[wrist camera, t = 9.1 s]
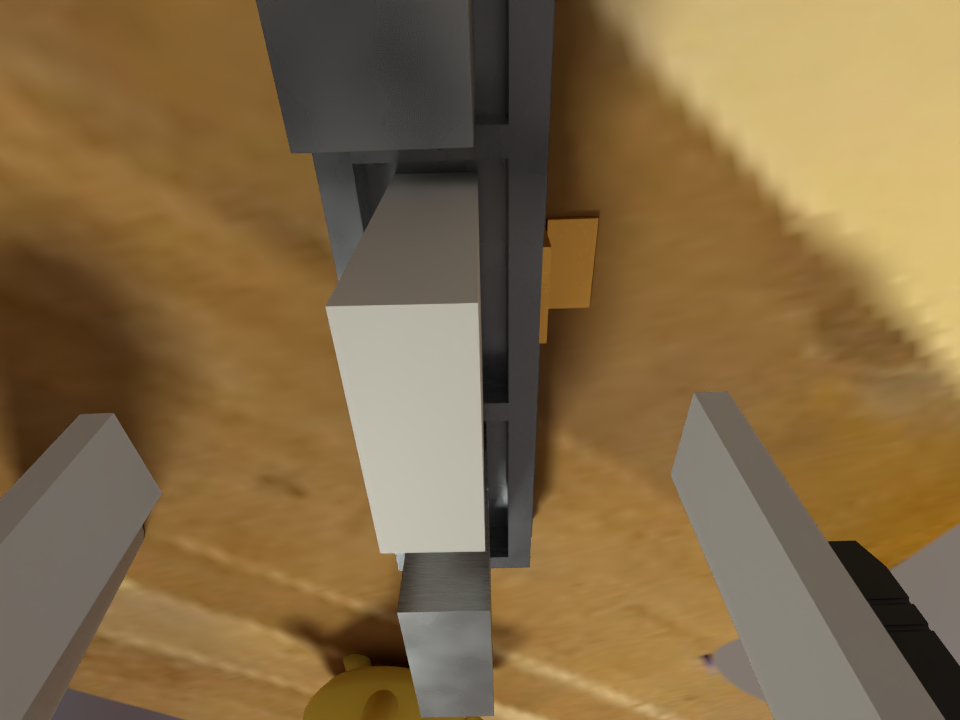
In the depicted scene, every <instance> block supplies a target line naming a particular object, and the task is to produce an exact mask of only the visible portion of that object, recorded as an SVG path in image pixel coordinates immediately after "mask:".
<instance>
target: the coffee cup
mask: <svg viewBox="0 0 960 720" xmlns="http://www.w3.org/2000/svg"><path fill="white" fill-rule="evenodd" d="M143 540H144V530H143V527H141V528H140V530H139V531H138V533H137V535H136V536H135V538H134V539H133V541H132V543H131V544H130V546H129V547H128V549H127V551H126V552H125V554H124V555H123V557H122V559H121V560H120V562H119V564H118V565H117V567H116V568H115V570H114V572H113V573H112V575H111V576H110V578H109V580H108V581H107V583H106V584H105V586H104V588H103V589H102V591H101V592H100V594H99V596H98V597H97V599H96V600H95V602H94V604H93V605H92V607H91V609H90V610H89V612H88V613H87V615H86V617H85V618H84V620H83V621H82V623H81V625H80V626H79V628H78V629H77V631H76V633H75V634H74V636H73V637H72V639H71V641H70V642H69V644H68V646H67V647H66V649H65V650H64V652H63V654H62V655H61V657H60V658H59V660H58V662H57V663H56V665H55V666H54V668H53V670H52V671H51V673H50V674H49V676H48V678H47V679H46V681H45V682H44V684H43V686H42V687H41V689H40V691H39V692H38V694H37V695H36V697H35V699H34V700H33V702H32V703H31V705H30V707H29V708H28V710H27V711H26V713H25V715H24V716H23V718H22V719H21V720H51V718H52V716H53V714H54V712H55V710H56V708H57V707H58V704H59V703H60V700H61V699H62V697H63V695H64V693H65V691H66V689H67V687H68V685H69V683H70V681H71V679H72V677H73V675H74V674H75V672H76V670H77V668H78V666H79V664H80V662H81V660H82V658H83V656H84V654H85V652H86V650H87V648H88V646H89V645H90V643H91V641H92V639H93V637H94V635H95V633H96V631H97V629H98V627H99V625H100V623H101V621H102V619H103V617H104V616H105V614H106V612H107V610H108V608H109V606H110V604H111V602H112V600H113V598H114V596H115V594H116V592H117V590H118V589H119V587H120V585H121V583H122V581H123V579H124V577H125V575H126V573H127V571H128V569H129V567H130V565H131V564H132V562H133V560H134V558H135V556H136V554H137V552H138V550H139V548H140V546H141V544H142V542H143Z"/></svg>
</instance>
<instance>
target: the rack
mask: <svg viewBox="0 0 960 720" xmlns="http://www.w3.org/2000/svg"><path fill="white" fill-rule="evenodd" d="M256 3H257V8H258V12H259V16H260V21H261V25H262V29H263V34H264V38H265V42H266V47H267V51H268V55H269V60H270V64H271V68H272V73H273V77H274V81H275V86H276V90H277V94H278V99H279V103H280V107H281V112H282V116H283V120H284V125H285V129H286V133H287V138H288V142H289V146H290V151H291V153H312V156H313V161H314V166H315V170H316V175H317V180H318V185H319V190H320V194H321V199H322V204H323V209H324V213H325V218H326V223H327V228H328V233H329V237H330V242H331V247H332V252H333V257H334V261H335V266H336V271H337V276H338V281H339V280H340V278H341V276H342V274H343V272H344V270H345V268H346V266H347V264H348V262H349V260H350V258H351V257H352V255H353V253H354V251H355V249H356V247H357V245H358V243H359V241H360V239H361V237H362V235H363V233H364V232H365V230H366V228H367V226H368V224H369V222H370V220H371V218H372V216H373V214H374V212H375V210H376V209H377V207H378V205H379V203H380V201H381V199H382V197H383V195H384V193H385V191H386V189H387V187H388V185H389V184H390V182H391V180H392V178H393V176H394V174H414V173H453V172H478V207H479V247H480V287H481V327H482V375H483V442H484V508H485V551H483V552H428V553H395V554H396V559H397V564H398V568H399V570H403V573H402V580H401V587H400V595H399V602H398V610H397V614H398V619H399V623H400V627H401V632H402V636H403V640H404V645H405V649H406V653H407V658H408V662H409V666H410V671H411V675H412V679H413V684H414V688H415V692H416V697H417V701H418V705H419V710H420V714H421V717H469V716H494V693H493V652H492V610H491V569H490V568H522V567H530V546H531V537H532V520H533V497H534V474H535V451H536V428H537V405H538V382H539V359H540V343H547V325H548V309H560V308H589V306H590V296H591V286H592V277H593V267H594V258H595V248H596V238H597V229H598V219H599V218H598V217H574V218H547V231H546V228H545V220H546V197H547V174H548V151H549V128H550V105H551V82H552V59H553V36H554V13H555V0H256Z"/></svg>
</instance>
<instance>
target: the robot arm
mask: <svg viewBox="0 0 960 720" xmlns="http://www.w3.org/2000/svg"><path fill="white" fill-rule="evenodd" d="M671 478H672V480H673V482H674V485H675V487H676V489H677V492H678V494H679V496H680V499H681V501H682V503H683V506H684V508H685V510H686V513H687V515H688V518H689V520H690V522H691V525H692V527H693V529H694V532H695V534H696V536H697V539H698V541H699V543H700V546H701V548H702V551H703V553H704V555H705V558H706V560H707V562H708V565H709V567H710V569H711V572H712V574H713V576H714V579H715V581H716V584H717V586H718V588H719V591H720V593H721V595H722V598H723V600H724V602H725V605H726V607H727V609H728V612H729V614H730V616H731V619H732V621H733V624H734V626H735V628H736V631H737V633H738V635H739V638H740V640H741V642H742V645H743V647H744V649H745V652H746V654H747V657H748V659H749V661H750V664H751V666H752V668H753V671H754V673H755V675H756V678H757V680H758V682H759V685H760V687H761V690H762V692H763V694H764V696H765V699H766V701H767V704H768V706H769V708H770V711H771V713H772V715H773V718H774V720H960V666H959V665H958V663H957V662H956V661H955V659H954V658H953V656H952V655H951V654H950V652H949V651H948V650H947V648H946V647H945V646H944V645H943V643H942V642H941V641H940V639H939V638H938V636H937V635H936V633H935V632H934V631H931V630H930V629H929V627H928V623H927V621H926V620H925V618H924V617H923V616H922V614H921V613H920V612H919V610H918V609H917V608H916V606H915V605H914V604H911V603H910V602H909V597H908V595H907V594H906V593H905V591H904V590H903V589H902V587H901V586H900V585H899V583H898V582H897V580H896V579H895V578H894V576H893V575H892V574H891V572H890V571H889V570H888V568H887V567H886V566H885V565H884V564H883V563H881V562H880V561H879V560H878V559H877V558H875V557H874V556H873V555H872V554H871V553H869V552H868V551H867V550H866V549H865V548H864V547H862V546H861V545H860V544H859V543H858V542H856V541H829V542H827V540H826V539H825V537H824V536H823V534H822V533H821V531H820V530H819V528H818V527H817V525H816V524H815V522H814V521H813V519H812V518H811V516H810V515H809V513H808V512H807V510H806V509H805V507H804V506H803V504H802V502H801V501H800V499H799V498H798V496H797V495H796V493H795V492H794V490H793V489H792V487H791V486H790V484H789V483H788V481H787V480H786V478H785V477H784V475H783V474H782V472H781V471H780V469H779V468H778V466H777V465H776V463H775V462H774V460H773V459H772V457H771V456H770V454H769V453H768V451H767V450H766V448H765V447H764V445H763V444H762V442H761V441H760V439H759V438H758V436H757V435H756V433H755V432H754V430H753V428H752V427H751V425H750V424H749V422H748V421H747V419H746V418H745V416H744V415H743V413H742V412H741V410H740V409H739V407H738V406H737V404H736V403H735V401H734V400H733V398H732V397H731V395H730V394H729V392H728V391H721V392H694V394H693V397H692V401H691V404H690V408H689V412H688V415H687V419H686V422H685V426H684V429H683V433H682V437H681V440H680V444H679V447H678V451H677V454H676V458H675V462H674V465H673V469H672V472H671ZM161 494H162V492H161V490H160V488H159V487H158V485H157V484H156V482H155V480H154V479H153V477H152V475H151V474H150V472H149V470H148V469H147V467H146V465H145V464H144V462H143V460H142V459H141V457H140V456H139V454H138V452H137V451H136V449H135V447H134V446H133V444H132V442H131V441H130V439H129V437H128V436H127V434H126V432H125V431H124V429H123V428H122V426H121V424H120V423H119V421H118V419H117V418H116V416H115V414H114V413H99V414H80V415H79V416H78V417H77V418H76V419H75V420H74V421H73V422H72V423H71V424H70V425H69V426H68V427H67V429H66V430H65V431H64V432H63V433H62V434H61V435H60V436H59V437H58V438H57V439H56V440H55V441H54V442H53V443H52V444H51V446H50V447H49V448H48V449H47V450H46V451H45V452H44V453H43V454H42V455H41V456H40V457H39V458H38V459H37V460H36V461H35V463H34V464H33V465H32V466H31V467H30V468H29V469H28V470H27V471H26V472H25V473H24V474H23V475H22V476H21V477H20V479H19V480H18V481H17V482H16V483H15V484H14V485H13V486H12V487H11V488H10V489H9V490H8V491H7V492H6V493H5V494H4V496H3V497H2V498H1V499H0V720H21V719H22V718H23V716H24V715H25V713H26V711H27V710H28V708H29V707H30V705H31V703H32V702H33V700H34V699H35V697H36V695H37V694H38V692H39V691H40V689H41V687H42V686H43V684H44V682H45V681H46V679H47V678H48V676H49V674H50V673H51V671H52V670H53V668H54V666H55V665H56V663H57V662H58V660H59V658H60V657H61V655H62V654H63V652H64V650H65V649H66V647H67V646H68V644H69V642H70V641H71V639H72V637H73V636H74V634H75V633H76V631H77V629H78V628H79V626H80V625H81V623H82V621H83V620H84V618H85V617H86V615H87V613H88V612H89V610H90V609H91V607H92V605H93V604H94V602H95V600H96V599H97V597H98V596H99V594H100V592H101V591H102V589H103V588H104V586H105V584H106V583H107V581H108V580H109V578H110V576H111V575H112V573H113V572H114V570H115V568H116V567H117V565H118V564H119V562H120V560H121V559H122V557H123V555H124V554H125V552H126V551H127V549H128V547H129V546H130V544H131V543H132V541H133V539H134V538H135V536H136V535H137V533H138V531H139V530H140V528H141V527H142V525H143V523H144V522H145V520H146V519H147V517H148V515H149V514H150V512H151V510H152V509H153V507H154V506H155V504H156V502H157V501H158V499H159V498H160V496H161Z"/></svg>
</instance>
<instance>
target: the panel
mask: <svg viewBox="0 0 960 720" xmlns="http://www.w3.org/2000/svg"><path fill="white" fill-rule="evenodd" d="M325 307H326V311H327V316H328V320H329V325H330V329H331V334H332V338H333V342H334V347H335V351H336V356H337V360H338V365H339V369H340V374H341V378H342V383H343V387H344V392H345V396H346V401H347V405H348V410H349V414H350V419H351V423H352V428H353V432H354V437H355V441H356V446H357V450H358V455H359V459H360V464H361V468H362V473H363V477H364V482H365V486H366V491H367V495H368V499H369V504H370V508H371V513H372V517H373V522H374V526H375V531H376V535H377V540H378V544H379V549H380V553H428V552H483V551H485V508H484V442H483V375H482V327H481V287H480V247H479V207H478V172H453V173H414V174H394V176H393V178H392V180H391V182H390V184H389V185H388V187H387V189H386V191H385V193H384V195H383V197H382V199H381V201H380V203H379V205H378V207H377V209H376V210H375V212H374V214H373V216H372V218H371V220H370V222H369V224H368V226H367V228H366V230H365V232H364V233H363V235H362V237H361V239H360V241H359V243H358V245H357V247H356V249H355V251H354V253H353V255H352V257H351V258H350V260H349V262H348V264H347V266H346V268H345V270H344V272H343V274H342V276H341V278H340V280H339V282H338V283H337V285H336V287H335V289H334V291H333V293H332V295H331V297H330V299H329V301H328V303H327V305H326V306H325Z"/></svg>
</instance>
